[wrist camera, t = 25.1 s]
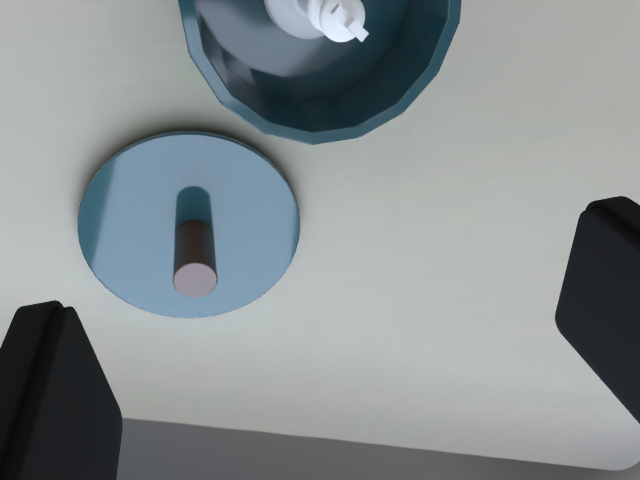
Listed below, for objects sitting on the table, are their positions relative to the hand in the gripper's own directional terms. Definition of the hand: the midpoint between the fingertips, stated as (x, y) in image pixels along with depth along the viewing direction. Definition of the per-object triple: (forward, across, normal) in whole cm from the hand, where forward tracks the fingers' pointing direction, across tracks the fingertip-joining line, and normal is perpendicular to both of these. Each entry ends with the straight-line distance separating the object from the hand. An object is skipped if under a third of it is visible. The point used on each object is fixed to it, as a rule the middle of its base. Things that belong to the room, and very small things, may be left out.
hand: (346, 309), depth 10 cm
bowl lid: (+24, +5, +12) cm, 27 cm away
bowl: (+24, -4, -2) cm, 25 cm away
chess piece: (+24, -4, -2) cm, 24 cm away
